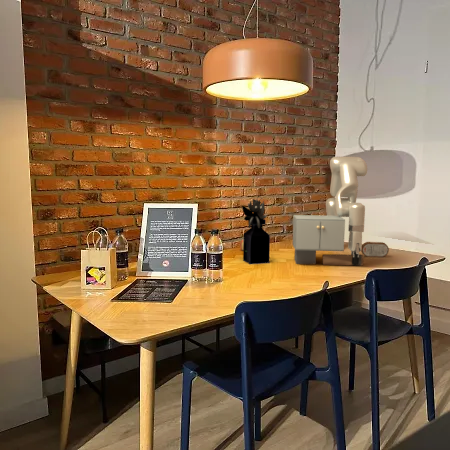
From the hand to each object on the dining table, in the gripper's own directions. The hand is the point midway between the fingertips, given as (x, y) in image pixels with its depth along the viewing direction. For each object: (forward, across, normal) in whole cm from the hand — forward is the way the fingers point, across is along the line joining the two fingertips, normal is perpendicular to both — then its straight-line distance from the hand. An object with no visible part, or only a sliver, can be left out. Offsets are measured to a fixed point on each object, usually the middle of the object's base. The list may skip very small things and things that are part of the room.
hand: (354, 263), depth 221 cm
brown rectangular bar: (0, 0, -6) cm, 6 cm away
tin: (+1, -25, +16) cm, 30 cm away
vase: (+1, -3, -50) cm, 51 cm away
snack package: (+1, -26, -52) cm, 59 cm away
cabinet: (+1, -5, -18) cm, 19 cm away
